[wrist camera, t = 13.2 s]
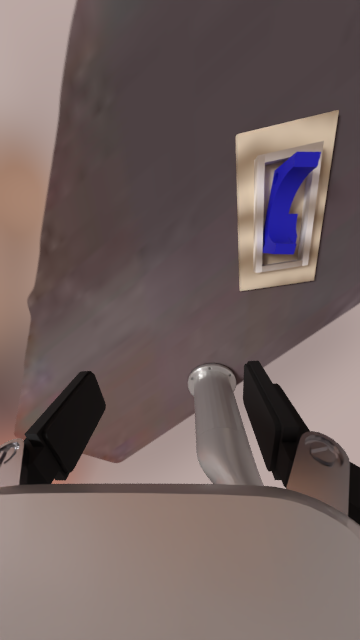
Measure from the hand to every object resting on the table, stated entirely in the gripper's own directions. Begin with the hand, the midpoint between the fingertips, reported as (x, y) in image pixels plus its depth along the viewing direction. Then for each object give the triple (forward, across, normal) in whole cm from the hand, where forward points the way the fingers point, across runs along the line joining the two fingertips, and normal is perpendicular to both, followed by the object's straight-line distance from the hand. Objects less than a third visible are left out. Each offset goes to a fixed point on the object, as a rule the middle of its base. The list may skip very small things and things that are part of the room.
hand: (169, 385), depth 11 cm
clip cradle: (+27, -18, -11) cm, 34 cm away
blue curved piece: (+27, -18, -11) cm, 34 cm away
